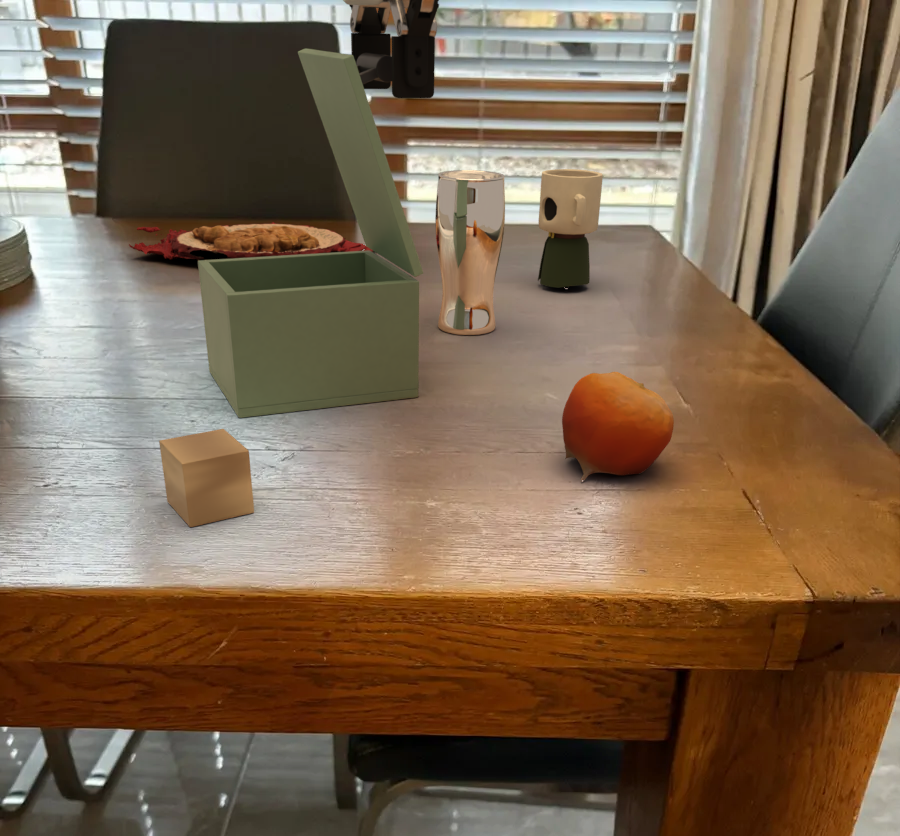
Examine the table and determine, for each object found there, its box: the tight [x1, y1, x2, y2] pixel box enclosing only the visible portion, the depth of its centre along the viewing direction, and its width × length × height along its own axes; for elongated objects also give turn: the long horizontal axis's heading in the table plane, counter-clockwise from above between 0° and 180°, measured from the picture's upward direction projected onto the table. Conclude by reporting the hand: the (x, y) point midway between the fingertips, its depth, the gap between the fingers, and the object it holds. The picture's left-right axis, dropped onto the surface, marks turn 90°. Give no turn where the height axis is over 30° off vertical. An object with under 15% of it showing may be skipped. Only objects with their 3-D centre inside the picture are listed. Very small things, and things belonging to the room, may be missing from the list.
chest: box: [197, 250, 420, 419], centre depth 84 cm, size 16×13×10 cm
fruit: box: [561, 371, 675, 481], centre depth 71 cm, size 8×8×8 cm
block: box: [158, 428, 255, 528], centre depth 64 cm, size 4×4×4 cm
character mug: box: [537, 168, 604, 289], centre depth 117 cm, size 11×7×13 cm, turn 8°
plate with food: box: [128, 221, 374, 262], centre depth 131 cm, size 24×26×4 cm
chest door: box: [297, 48, 424, 278], centre depth 79 cm, size 16×13×5 cm
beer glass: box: [434, 169, 506, 336], centre depth 100 cm, size 7×7×15 cm
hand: (391, 92), depth 77 cm, fingers open, 9 cm apart
